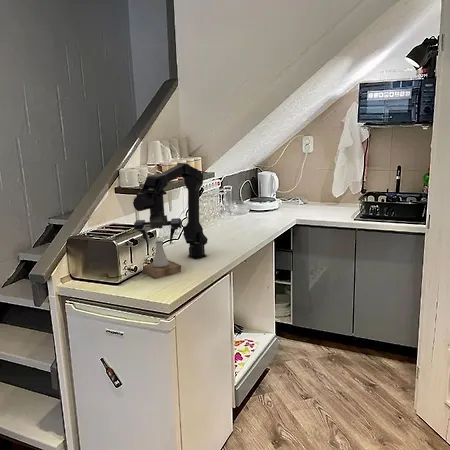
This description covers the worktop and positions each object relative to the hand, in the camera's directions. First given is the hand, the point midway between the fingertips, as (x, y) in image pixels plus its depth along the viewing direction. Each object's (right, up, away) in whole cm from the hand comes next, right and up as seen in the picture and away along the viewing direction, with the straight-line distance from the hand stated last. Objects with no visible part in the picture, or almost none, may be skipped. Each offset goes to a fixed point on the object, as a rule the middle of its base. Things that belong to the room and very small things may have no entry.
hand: (159, 244), depth 187 cm
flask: (0, -9, +2) cm, 9 cm away
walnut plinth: (0, -12, +2) cm, 12 cm away
